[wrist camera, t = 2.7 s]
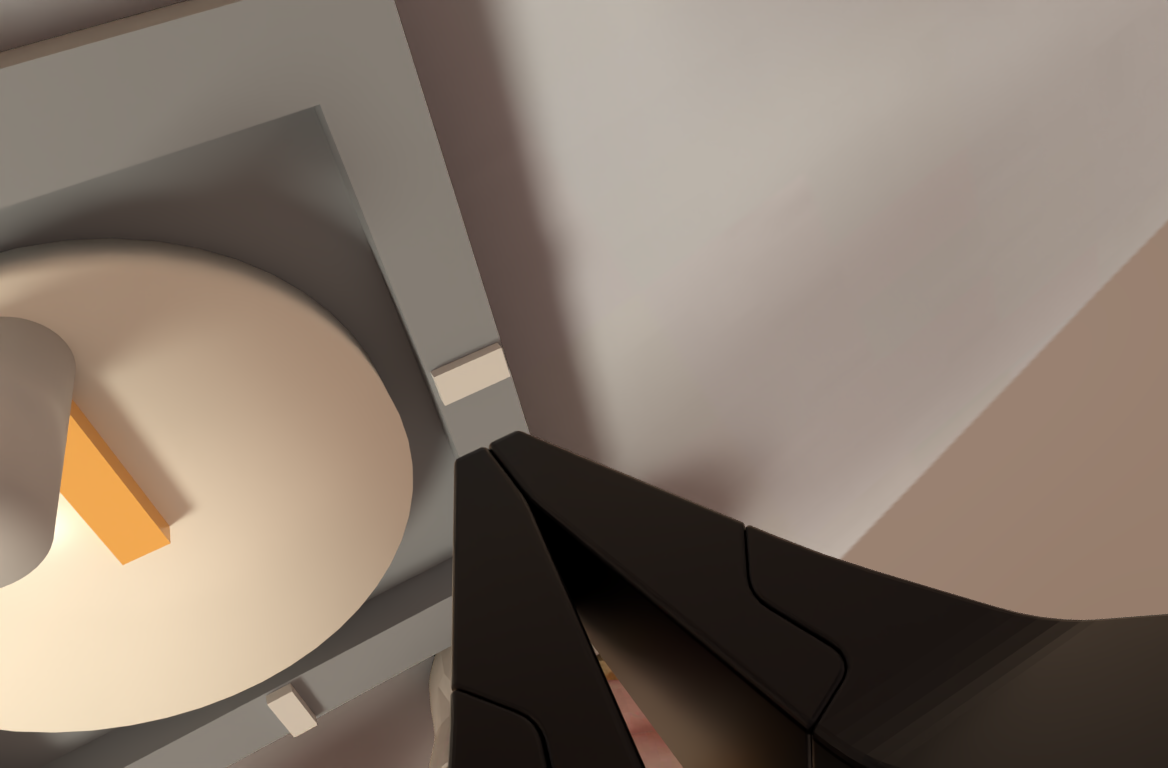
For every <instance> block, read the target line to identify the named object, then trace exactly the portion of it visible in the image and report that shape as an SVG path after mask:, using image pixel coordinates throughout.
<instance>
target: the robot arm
mask: <svg viewBox="0 0 1168 768" xmlns="http://www.w3.org/2000/svg"><path fill="white" fill-rule="evenodd" d="M591 643H592V644H591ZM592 645H593V646H594V648H595V649H596V650H597V652H598V653H599V654H600V656H601V657H602V658H603V660H604V661H605V662H606V664H607V665H608V667H609V668H610V669H611V671H612V672H613V673H614V675H615V676H616V677H617V679H618V680H619V681H620V683H621V684H622V685H623V687H624V688H625V690H626V691H627V692H628V694H629V695H630V696H631V698H632V699H633V700H634V702H635V703H636V704H637V706H638V707H639V709H640V710H641V711H642V713H643V714H644V715H645V717H646V718H647V719H648V721H649V722H650V723H651V725H652V726H653V728H654V729H655V730H656V732H657V733H658V734H659V736H660V737H661V738H662V740H663V741H664V742H665V744H666V745H667V746H668V748H669V749H670V751H671V752H672V753H673V755H674V756H675V757H676V759H677V760H678V761H679V763H680V764H681V765H682V767H683V768H1168V614H1162V615H1149V616H1136V617H1123V618H1111V619H1099V620H1064V619H1055V618H1046V617H1039V616H1033V615H1028V614H1023V613H1018V612H1014V611H1010V610H1006V609H1002V608H999V607H995V606H991V605H988V604H985V603H981V602H978V601H975V600H971V599H968V598H965V597H961V596H958V595H955V594H951V593H948V592H944V591H941V590H938V589H935V588H931V587H928V586H924V585H921V584H918V583H914V582H911V581H908V580H904V579H901V578H898V577H894V576H891V575H887V574H884V573H881V572H877V571H874V570H871V569H868V568H865V567H862V566H859V565H856V564H852V563H849V562H846V561H843V560H840V559H837V558H834V557H831V556H828V555H825V554H822V553H819V552H817V551H814V550H811V549H809V548H806V547H803V546H801V545H798V544H796V543H793V542H790V541H788V540H785V539H783V538H780V537H777V536H775V535H772V534H770V533H768V532H765V531H763V530H760V529H758V528H756V527H753V526H750V525H749V526H747V527H746V528H745V525H744V523H743V522H740V521H738V520H735V519H733V518H731V517H728V516H726V515H723V514H721V513H719V512H716V511H714V510H711V509H709V508H706V507H704V506H702V505H699V504H697V503H694V502H692V501H689V500H687V499H685V498H682V497H680V496H677V495H675V494H673V493H670V492H668V491H665V490H663V489H660V488H658V487H656V486H653V485H651V484H648V483H646V482H643V481H641V480H639V479H636V478H634V477H631V476H629V475H627V474H624V473H622V472H619V471H617V470H614V469H612V468H610V467H607V466H605V465H602V464H600V463H597V462H595V461H593V460H590V459H588V458H585V457H583V456H581V455H578V454H576V453H573V452H571V451H568V450H566V449H564V448H561V447H559V446H556V445H554V444H552V443H549V442H547V441H544V440H542V439H539V438H537V437H535V436H532V435H530V434H527V433H525V432H522V431H514V432H512V433H510V434H508V435H505V436H503V437H501V438H499V439H497V440H495V441H493V442H491V443H490V445H489V449H487V448H486V447H480V448H478V449H476V450H474V451H472V452H470V453H468V454H466V455H463V456H461V457H459V458H458V459H456V461H455V463H454V493H453V564H452V635H451V689H452V691H453V692H452V693H451V695H450V732H449V751H448V768H646V767H645V765H644V763H643V761H642V758H641V756H640V754H639V751H638V749H637V747H636V745H635V742H634V740H633V738H632V735H631V733H630V731H629V729H628V726H627V724H626V722H625V720H624V717H623V715H622V713H621V710H620V708H619V706H618V704H617V701H616V699H615V697H614V694H613V692H612V690H611V688H610V685H609V683H608V681H607V678H606V676H605V674H604V672H603V669H602V667H601V665H600V662H599V660H598V658H597V656H596V653H595V651H594V649H593V647H592Z"/></svg>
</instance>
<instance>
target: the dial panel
mask: <svg viewBox="0 0 1168 768" xmlns="http://www.w3.org/2000/svg"><path fill="white" fill-rule="evenodd" d="M108 238H113V239H129V240H146V241H158V242H164V243H170V244H175V245H181V246H187V247H193V248H198V249H202V250H205V251H209V252H212V253H216V254H219V255H223V256H226V257H230V258H233V259H237V260H239V261H241V262H244V263H246V264H249V265H251V266H253V267H256V268H258V269H261V270H263V271H265V272H268V273H270V274H272V275H274V276H276V277H278V278H280V279H281V280H283V281H285V282H287V283H288V284H290V285H292V286H294V287H295V288H297V289H299V290H301V291H302V292H304V293H305V294H307V295H308V296H309V297H311V298H312V299H313V300H315V301H316V302H317V303H319V304H320V305H321V306H323V307H324V308H325V309H327V310H328V311H329V312H330V313H331V314H332V315H333V316H334V317H335V318H336V319H337V320H338V321H339V322H340V323H341V324H342V325H343V326H344V327H345V328H346V329H347V330H348V331H349V332H350V333H351V334H352V335H353V336H354V338H355V339H356V340H357V342H358V343H359V344H360V346H361V347H362V348H363V350H364V351H365V352H366V354H367V355H368V356H369V358H370V360H371V362H372V364H373V366H374V367H375V369H376V371H377V373H378V375H379V377H380V378H381V380H382V382H383V384H384V386H385V388H386V390H387V392H388V394H389V396H390V398H391V399H392V401H393V403H394V405H395V407H396V409H397V411H398V413H399V415H400V418H401V420H402V423H403V426H404V429H405V432H406V435H407V438H408V441H409V447H410V453H411V459H412V465H413V493H412V500H411V506H410V513H409V518H408V521H407V524H406V528H405V531H404V534H403V537H402V541H401V543H400V545H399V547H398V549H397V551H396V554H395V556H394V558H393V560H392V562H391V564H390V566H389V567H388V569H387V571H386V572H385V574H384V576H383V577H382V579H381V580H380V582H379V584H378V585H377V587H376V588H375V589H374V591H373V592H372V593H371V594H370V596H369V597H368V598H367V599H366V601H365V602H364V603H363V604H362V606H361V607H360V608H359V609H358V610H357V611H356V612H355V613H354V614H353V615H352V616H351V617H350V618H349V619H348V620H347V621H346V622H345V623H344V624H343V625H342V626H341V628H340V629H338V630H337V631H336V632H335V633H334V634H332V635H331V636H330V637H329V638H328V639H326V640H325V641H324V642H323V643H322V644H320V645H319V646H318V647H317V648H316V649H314V650H313V651H311V652H310V653H308V654H307V655H305V656H304V657H303V658H301V659H300V660H298V661H297V662H295V663H294V664H292V665H291V666H289V667H288V668H286V669H284V670H282V671H281V672H279V673H277V674H275V675H274V676H272V677H270V678H268V679H267V680H265V681H263V682H261V683H259V684H257V685H255V686H253V687H250V688H248V689H246V690H244V691H242V692H240V693H238V694H235V695H233V696H231V697H228V698H226V699H223V700H220V701H218V702H215V703H212V704H210V705H207V706H204V707H202V708H199V709H195V710H192V711H188V712H185V713H181V714H178V715H175V716H171V717H168V718H164V719H159V720H154V721H149V722H145V723H140V724H135V725H130V726H123V727H115V728H108V729H100V730H93V731H73V732H20V731H8V730H0V768H227V767H229V766H231V765H232V764H234V763H236V762H238V761H240V760H242V759H243V758H245V757H247V756H249V755H251V754H253V753H255V752H256V751H258V750H260V749H262V748H264V747H266V746H267V745H269V744H271V743H273V742H275V741H277V740H278V739H280V738H282V737H284V736H286V735H288V734H290V733H291V734H292V736H293V737H294V738H295V737H297V736H298V735H300V734H302V733H304V732H306V731H308V730H309V729H311V728H313V727H315V726H317V725H318V724H317V718H319V717H321V716H323V715H325V714H326V713H328V712H330V711H332V710H334V709H336V708H337V707H339V706H341V705H343V704H345V703H347V702H349V701H350V700H352V699H354V698H356V697H358V696H360V695H361V694H363V693H365V692H367V691H369V690H371V689H372V688H374V687H376V686H378V685H380V684H382V683H384V682H385V681H387V680H389V679H391V678H393V677H395V676H396V675H398V674H400V673H402V672H404V671H406V670H407V669H409V668H411V667H413V666H415V665H417V664H419V663H420V662H422V661H424V660H426V659H428V658H430V657H431V656H433V655H435V654H437V653H439V652H441V651H443V650H444V649H446V648H448V647H450V646H451V635H452V564H453V493H454V463H455V461H456V459H458V458H459V457H461V456H463V455H466V454H468V453H470V452H472V451H474V450H476V449H478V448H480V447H486V448H487V449H489V445H490V443H491V442H493V441H495V440H497V439H499V438H501V437H503V436H505V435H508V434H510V433H512V432H514V431H522V432H525V433H527V434H530V433H529V430H528V426H527V423H526V420H525V417H524V414H523V410H522V407H521V404H520V401H519V398H518V394H517V391H516V388H515V385H514V382H513V378H512V375H511V372H510V369H509V366H508V362H507V359H506V356H505V353H504V350H503V346H502V343H501V340H500V337H499V334H498V330H497V327H496V324H495V321H494V318H493V314H492V311H491V308H490V305H489V302H488V299H487V295H486V292H485V289H484V286H483V283H482V279H481V276H480V273H479V270H478V267H477V263H476V260H475V257H474V254H473V251H472V247H471V244H470V241H469V238H468V235H467V231H466V228H465V225H464V222H463V219H462V215H461V212H460V209H459V206H458V203H457V199H456V196H455V193H454V190H453V187H452V183H451V180H450V177H449V174H448V171H447V167H446V164H445V161H444V158H443V155H442V151H441V148H440V145H439V142H438V139H437V135H436V132H435V129H434V126H433V123H432V119H431V116H430V113H429V110H428V107H427V103H426V100H425V97H424V94H423V91H422V87H421V84H420V81H419V78H418V75H417V71H416V68H415V65H414V62H413V59H412V55H411V52H410V49H409V46H408V43H407V39H406V36H405V33H404V30H403V27H402V23H401V20H400V17H399V14H398V11H397V7H396V4H395V1H394V0H187V1H184V2H180V3H176V4H173V5H169V6H166V7H162V8H158V9H155V10H151V11H148V12H144V13H140V14H137V15H133V16H129V17H126V18H122V19H119V20H115V21H111V22H108V23H104V24H101V25H97V26H93V27H90V28H86V29H83V30H79V31H75V32H72V33H68V34H65V35H61V36H57V37H54V38H50V39H46V40H43V41H39V42H36V43H32V44H28V45H25V46H21V47H18V48H14V49H10V50H7V51H3V52H0V253H1V252H4V251H8V250H12V249H15V248H20V247H26V246H33V245H39V244H45V243H52V242H58V241H65V240H86V239H108Z"/></svg>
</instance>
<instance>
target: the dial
mask: <svg viewBox="0 0 1168 768" xmlns="http://www.w3.org/2000/svg"><path fill="white" fill-rule="evenodd" d="M412 493H413V465H412V459H411V453H410V447H409V441H408V438H407V435H406V432H405V429H404V426H403V423H402V420H401V418H400V415H399V413H398V411H397V409H396V407H395V405H394V403H393V401H392V399H391V398H390V396H389V394H388V392H387V390H386V388H385V386H384V384H383V382H382V380H381V378H380V377H379V375H378V373H377V371H376V369H375V367H374V366H373V364H372V362H371V360H370V358H369V356H368V355H367V354H366V352H365V351H364V350H363V348H362V347H361V346H360V344H359V343H358V342H357V340H356V339H355V338H354V336H353V335H352V334H351V333H350V332H349V331H348V330H347V329H346V328H345V327H344V326H343V325H342V324H341V323H340V322H339V321H338V320H337V319H336V318H335V317H334V316H333V315H332V314H331V313H330V312H329V311H328V310H327V309H325V308H324V307H323V306H321V305H320V304H319V303H317V302H316V301H315V300H313V299H312V298H311V297H309V296H308V295H307V294H305V293H304V292H302V291H301V290H299V289H297V288H295V287H294V286H292V285H290V284H288V283H287V282H285V281H283V280H281V279H280V278H278V277H276V276H274V275H272V274H270V273H268V272H265V271H263V270H261V269H258V268H256V267H253V266H251V265H249V264H246V263H244V262H241V261H239V260H237V259H233V258H230V257H226V256H223V255H219V254H216V253H212V252H209V251H205V250H202V249H198V248H193V247H187V246H181V245H175V244H170V243H164V242H158V241H146V240H129V239H113V238H108V239H86V240H65V241H58V242H52V243H45V244H39V245H33V246H26V247H20V248H15V249H12V250H8V251H4V252H1V253H0V730H8V731H20V732H73V731H93V730H100V729H108V728H115V727H123V726H130V725H135V724H140V723H145V722H149V721H154V720H159V719H164V718H168V717H171V716H175V715H178V714H181V713H185V712H188V711H192V710H195V709H199V708H202V707H204V706H207V705H210V704H212V703H215V702H218V701H220V700H223V699H226V698H228V697H231V696H233V695H235V694H238V693H240V692H242V691H244V690H246V689H248V688H250V687H253V686H255V685H257V684H259V683H261V682H263V681H265V680H267V679H268V678H270V677H272V676H274V675H275V674H277V673H279V672H281V671H282V670H284V669H286V668H288V667H289V666H291V665H292V664H294V663H295V662H297V661H298V660H300V659H301V658H303V657H304V656H305V655H307V654H308V653H310V652H311V651H313V650H314V649H316V648H317V647H318V646H319V645H320V644H322V643H323V642H324V641H325V640H326V639H328V638H329V637H330V636H331V635H332V634H334V633H335V632H336V631H337V630H338V629H340V628H341V626H342V625H343V624H344V623H345V622H346V621H347V620H348V619H349V618H350V617H351V616H352V615H353V614H354V613H355V612H356V611H357V610H358V609H359V608H360V607H361V606H362V604H363V603H364V602H365V601H366V599H367V598H368V597H369V596H370V594H371V593H372V592H373V591H374V589H375V588H376V587H377V585H378V584H379V582H380V580H381V579H382V577H383V576H384V574H385V572H386V571H387V569H388V567H389V566H390V564H391V562H392V560H393V558H394V556H395V554H396V551H397V549H398V547H399V545H400V543H401V541H402V537H403V534H404V531H405V528H406V524H407V521H408V518H409V513H410V506H411V500H412Z"/></svg>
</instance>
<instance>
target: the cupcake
mask: <svg viewBox="0 0 1168 768" xmlns="http://www.w3.org/2000/svg"><path fill="white" fill-rule="evenodd" d="M591 644H592V643H591ZM592 647H593V649H594V651H595V653H596V656H597V658H598V660H599V662H600V665H601V667H602V669H603V672H604V674H605V676H606V678H607V681H608V683H609V685H610V688H611V690H612V692H613V694H614V697H615V699H616V701H617V704H618V706H619V708H620V710H621V713H622V715H623V717H624V720H625V722H626V724H627V726H628V729H629V731H630V733H631V735H632V738H633V740H634V742H635V745H636V747H637V749H638V751H639V754H640V756H641V758H642V761H643V763H644V765H645V767H646V768H683V767H682V765H681V764H680V763H679V761H678V760H677V759H676V757H675V756H674V755H673V753H672V752H671V751H670V749H669V748H668V746H667V745H666V744H665V742H664V741H663V740H662V738H661V737H660V736H659V734H658V733H657V732H656V730H655V729H654V728H653V726H652V725H651V723H650V722H649V721H648V719H647V718H646V717H645V715H644V714H643V713H642V711H641V710H640V709H639V707H638V706H637V704H636V703H635V702H634V700H633V699H632V698H631V696H630V695H629V694H628V692H627V691H626V690H625V688H624V687H623V685H622V684H621V683H620V681H619V680H618V679H617V677H616V676H615V675H614V673H613V672H612V671H611V669H610V668H609V667H608V665H607V664H606V662H605V661H604V660H603V658H602V657H601V656H600V654H599V653H598V652H597V650H596V649H595V648H594V646H593V645H592ZM452 692H453V691H452V689H451V646H450V647H448V648H446V649H444V650H443V651H441V652H439V653H437V654H436V655H435V658H434V661H433V665H432V669H431V673H430V679H429V694H430V705H431V714H432V719H433V725H434V736H435V741H434V746H433V750H432V755H431V760H430V764H429V768H448V751H449V732H450V695H451V693H452Z"/></svg>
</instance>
